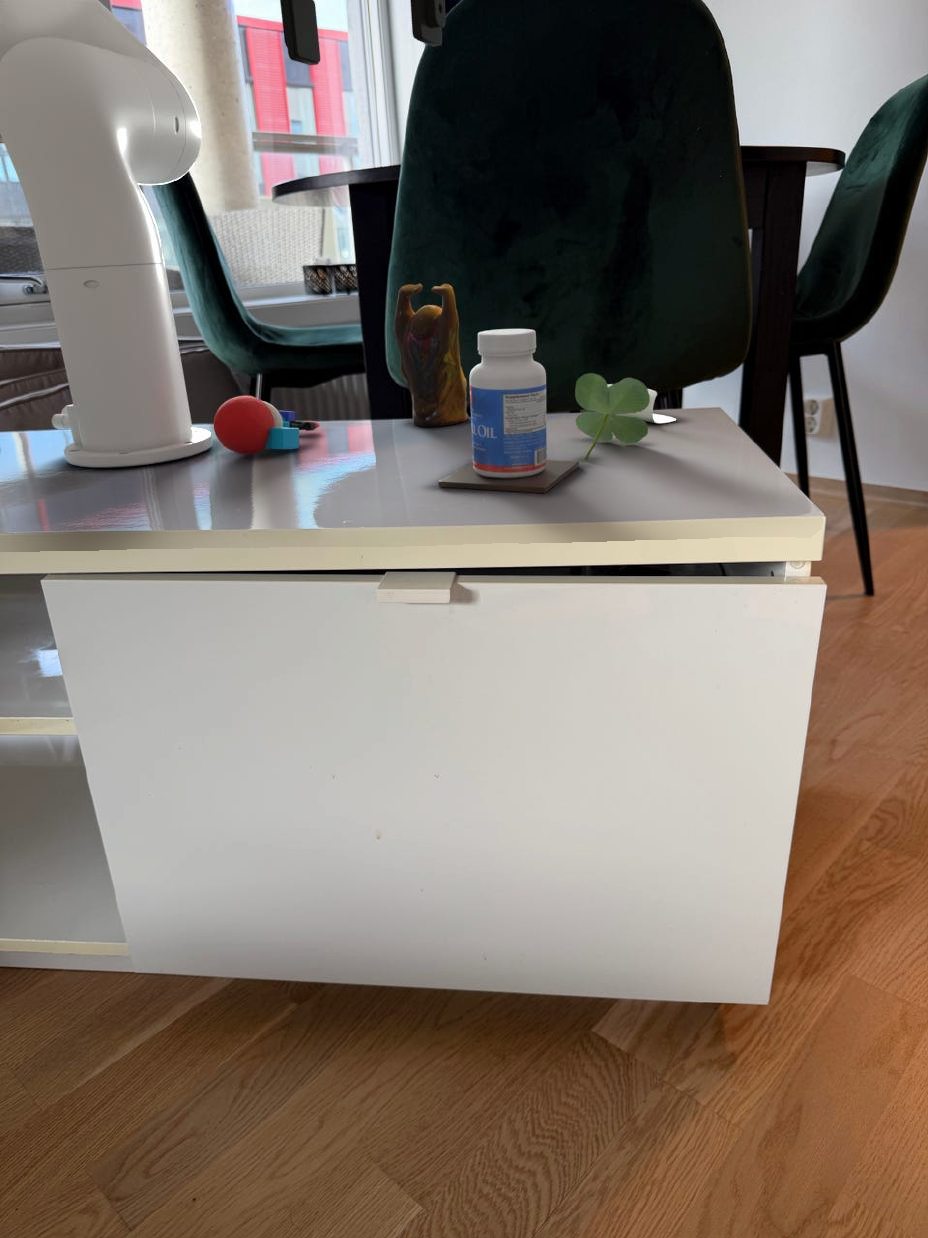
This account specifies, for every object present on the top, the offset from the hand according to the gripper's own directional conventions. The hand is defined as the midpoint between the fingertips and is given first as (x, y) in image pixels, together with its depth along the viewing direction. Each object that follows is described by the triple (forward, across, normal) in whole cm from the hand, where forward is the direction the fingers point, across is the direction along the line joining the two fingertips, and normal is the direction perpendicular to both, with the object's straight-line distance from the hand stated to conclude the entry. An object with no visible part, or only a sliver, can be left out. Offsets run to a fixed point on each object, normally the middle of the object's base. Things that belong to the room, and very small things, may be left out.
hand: (364, 52), depth 60 cm
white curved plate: (+28, -15, -22) cm, 39 cm away
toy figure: (+28, +15, -3) cm, 32 cm away
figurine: (+28, +4, -17) cm, 33 cm away
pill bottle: (+28, -11, +3) cm, 30 cm away
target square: (+28, -11, +3) cm, 31 cm away
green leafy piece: (+28, -14, -7) cm, 33 cm away
